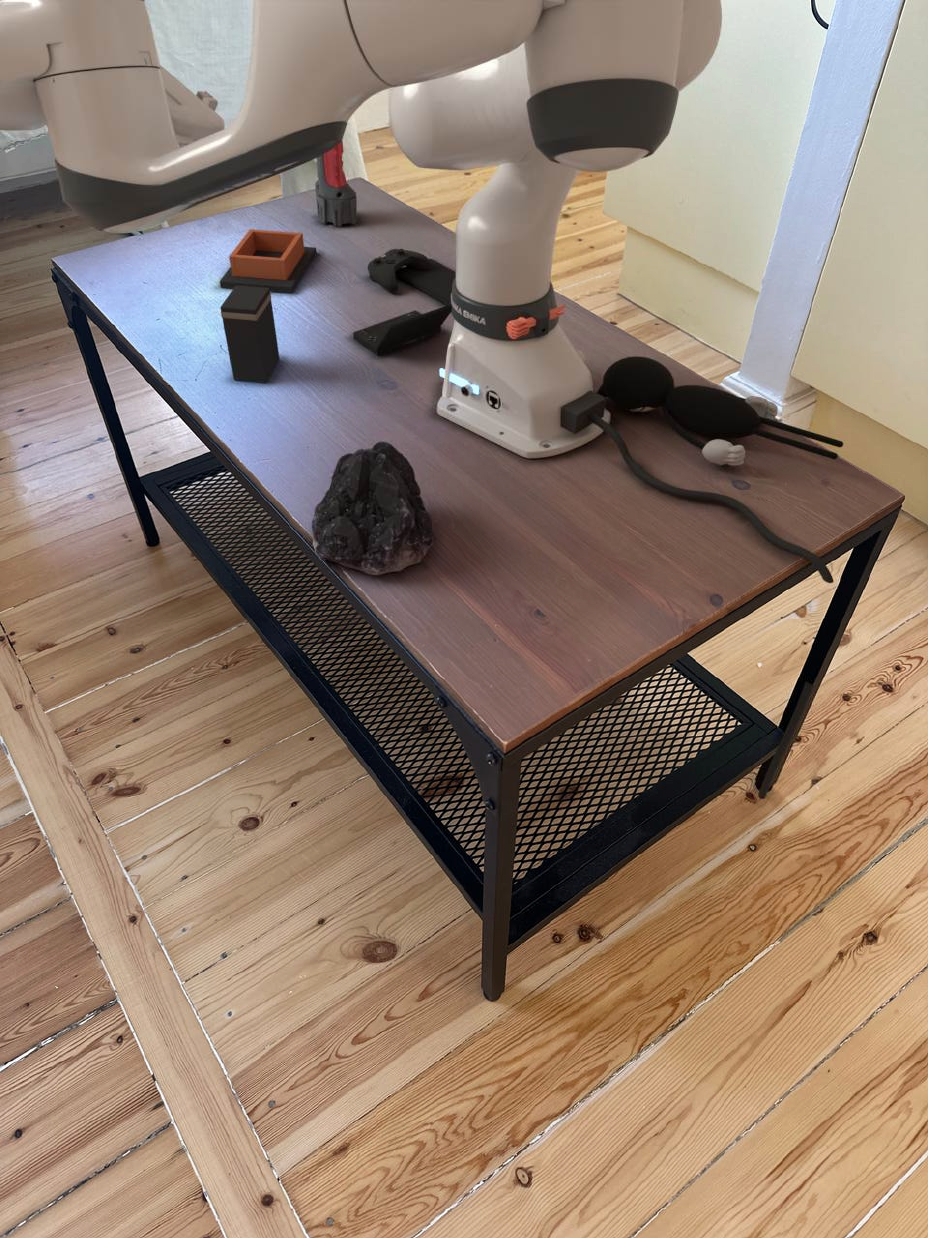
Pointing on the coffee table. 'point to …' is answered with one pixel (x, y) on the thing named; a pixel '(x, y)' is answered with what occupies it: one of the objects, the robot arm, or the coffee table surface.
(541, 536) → the coffee table surface
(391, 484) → the crystal cluster
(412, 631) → the coffee table surface
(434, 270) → the smartphone
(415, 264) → the game controller
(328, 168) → the flashlight
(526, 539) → the coffee table surface
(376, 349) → the handheld gaming console
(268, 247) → the orange and black tray
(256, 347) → the black box with band
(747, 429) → the toy
